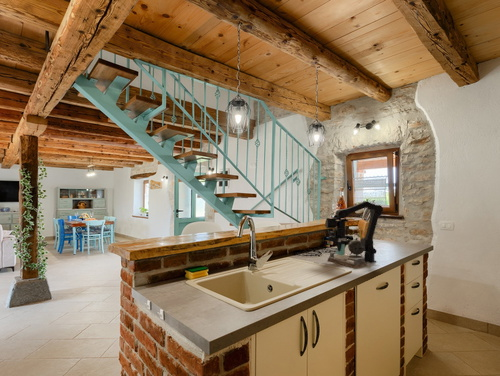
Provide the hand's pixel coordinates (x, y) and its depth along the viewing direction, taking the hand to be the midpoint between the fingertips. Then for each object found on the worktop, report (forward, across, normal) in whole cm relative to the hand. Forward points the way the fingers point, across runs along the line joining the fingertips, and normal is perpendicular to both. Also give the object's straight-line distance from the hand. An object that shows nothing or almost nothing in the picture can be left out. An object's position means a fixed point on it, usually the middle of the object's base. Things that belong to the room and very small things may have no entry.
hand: (340, 251), depth 192 cm
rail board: (+7, 0, +5) cm, 9 cm away
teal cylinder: (+5, 0, 0) cm, 5 cm away
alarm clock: (+7, -24, -7) cm, 26 cm away
